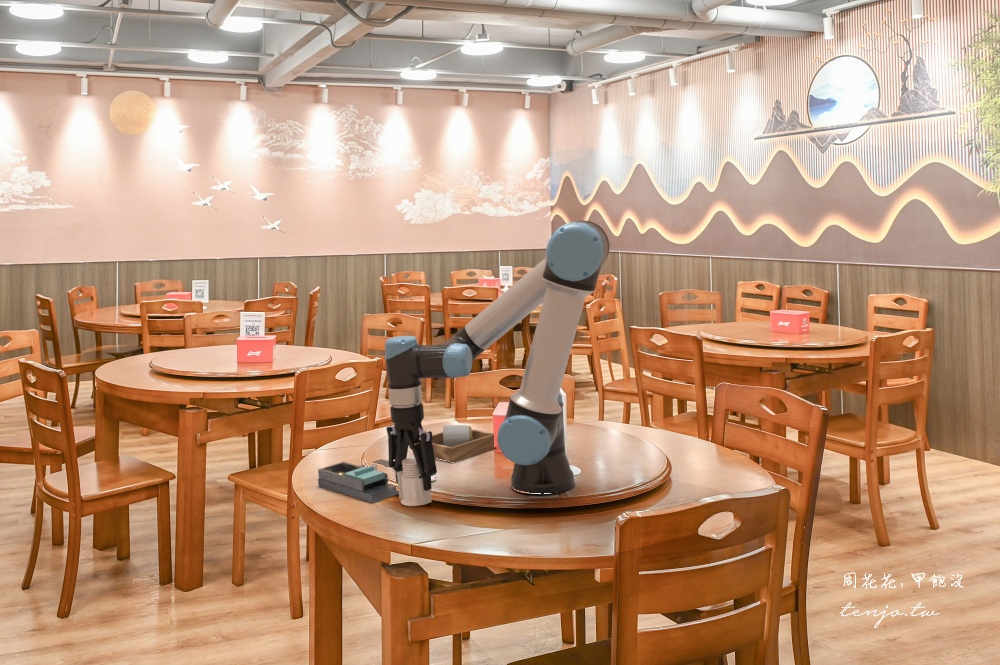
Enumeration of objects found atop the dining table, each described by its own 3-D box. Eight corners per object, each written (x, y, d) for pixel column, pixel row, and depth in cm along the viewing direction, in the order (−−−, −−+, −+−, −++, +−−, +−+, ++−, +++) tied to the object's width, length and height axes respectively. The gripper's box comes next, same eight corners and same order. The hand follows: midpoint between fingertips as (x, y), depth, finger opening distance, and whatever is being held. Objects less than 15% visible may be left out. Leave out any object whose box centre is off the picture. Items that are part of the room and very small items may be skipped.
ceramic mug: (473, 453, 247) (471, 426, 246) (443, 456, 246) (441, 428, 245) (471, 444, 258) (470, 417, 256) (443, 446, 257) (441, 420, 256)
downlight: (402, 496, 214) (397, 456, 212) (431, 493, 214) (427, 453, 212) (399, 509, 206) (395, 467, 204) (430, 506, 206) (426, 465, 204)
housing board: (436, 480, 225) (434, 461, 224) (372, 503, 211) (370, 482, 210) (381, 466, 241) (379, 448, 240) (318, 486, 227) (316, 467, 226)
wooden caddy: (497, 447, 251) (496, 433, 251) (452, 463, 239) (451, 448, 239) (460, 440, 262) (459, 426, 261) (415, 454, 250) (414, 440, 249)
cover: (384, 478, 219) (383, 468, 218) (364, 485, 214) (364, 474, 214) (364, 472, 224) (363, 463, 224) (344, 479, 220) (344, 469, 220)
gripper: (447, 405, 202) (456, 503, 205) (391, 396, 216) (400, 488, 219) (422, 412, 197) (431, 513, 200) (366, 403, 211) (376, 497, 214)
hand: (415, 500), depth 210 cm, fingers closed on downlight, 7 cm apart
